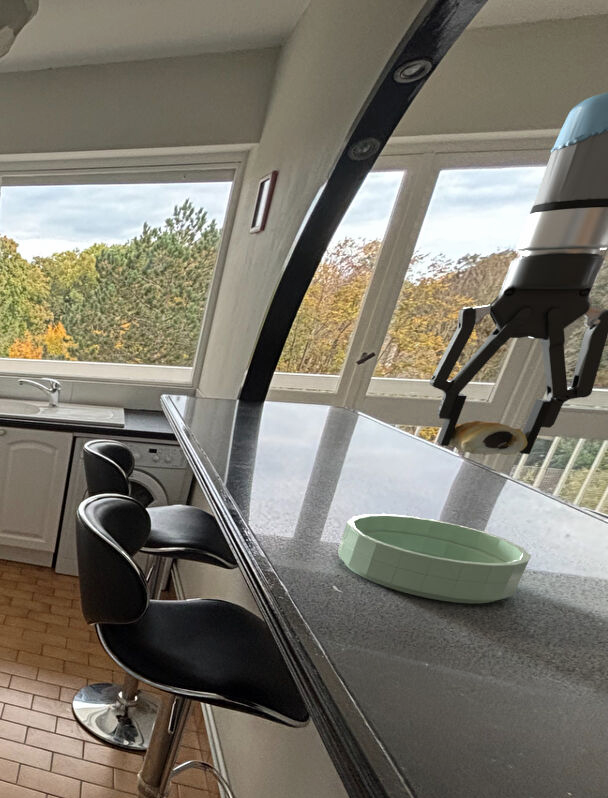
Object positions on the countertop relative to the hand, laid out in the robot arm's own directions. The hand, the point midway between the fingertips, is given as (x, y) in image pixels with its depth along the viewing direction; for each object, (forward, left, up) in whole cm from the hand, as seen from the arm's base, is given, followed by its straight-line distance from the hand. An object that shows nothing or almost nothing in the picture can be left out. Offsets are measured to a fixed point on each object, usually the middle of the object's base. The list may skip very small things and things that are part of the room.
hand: (481, 447), depth 77 cm
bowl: (+5, +16, -13) cm, 21 cm away
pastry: (0, 0, 0) cm, 1 cm away
